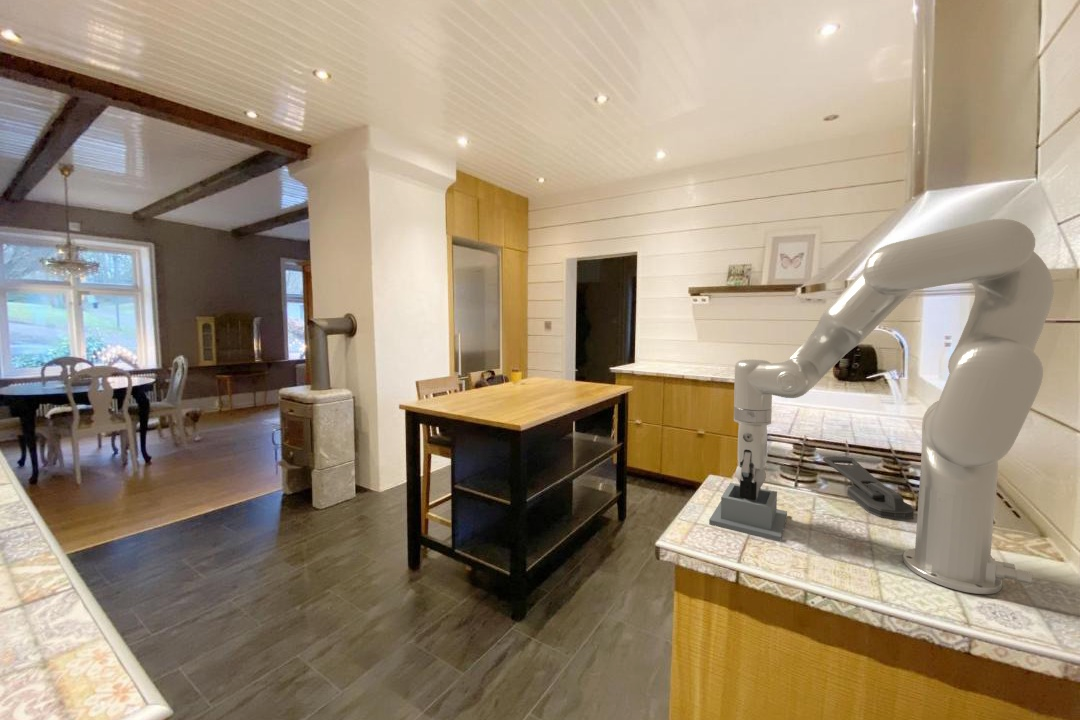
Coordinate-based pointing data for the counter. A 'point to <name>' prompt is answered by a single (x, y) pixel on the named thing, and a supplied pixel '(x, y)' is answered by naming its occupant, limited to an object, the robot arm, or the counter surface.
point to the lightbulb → (759, 479)
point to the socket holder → (750, 513)
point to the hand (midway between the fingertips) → (750, 492)
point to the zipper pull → (871, 491)
